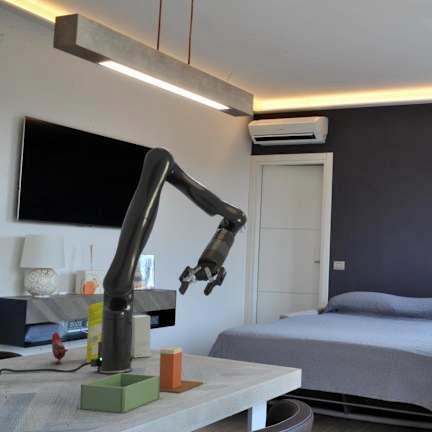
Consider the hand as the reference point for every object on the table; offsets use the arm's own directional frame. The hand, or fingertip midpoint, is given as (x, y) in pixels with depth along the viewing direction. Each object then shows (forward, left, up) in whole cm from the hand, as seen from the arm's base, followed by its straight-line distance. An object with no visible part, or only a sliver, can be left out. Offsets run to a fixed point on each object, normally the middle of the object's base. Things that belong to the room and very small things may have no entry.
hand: (193, 293), depth 183 cm
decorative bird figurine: (-55, +6, -27) cm, 61 cm away
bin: (-2, -29, -26) cm, 39 cm away
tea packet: (0, -11, -26) cm, 28 cm away
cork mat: (0, -9, -26) cm, 28 cm away
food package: (-50, +17, -27) cm, 59 cm away
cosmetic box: (-40, +28, -27) cm, 56 cm away
